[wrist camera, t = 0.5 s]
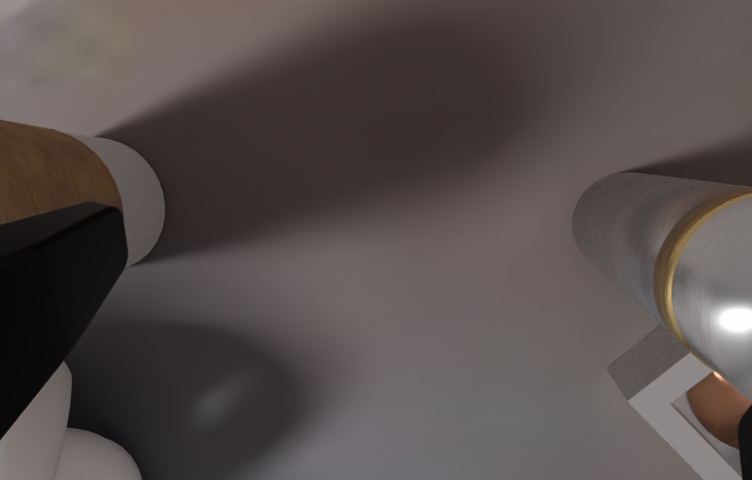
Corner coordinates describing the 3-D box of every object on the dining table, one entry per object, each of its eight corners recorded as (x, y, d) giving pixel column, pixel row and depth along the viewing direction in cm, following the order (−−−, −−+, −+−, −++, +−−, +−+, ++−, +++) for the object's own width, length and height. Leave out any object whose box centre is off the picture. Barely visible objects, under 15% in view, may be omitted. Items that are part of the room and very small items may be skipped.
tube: (620, 294, 23) (819, 478, 10) (549, 221, 23) (656, 311, 10) (705, 224, 22) (1041, 327, 9) (631, 148, 22) (864, 145, 9)
